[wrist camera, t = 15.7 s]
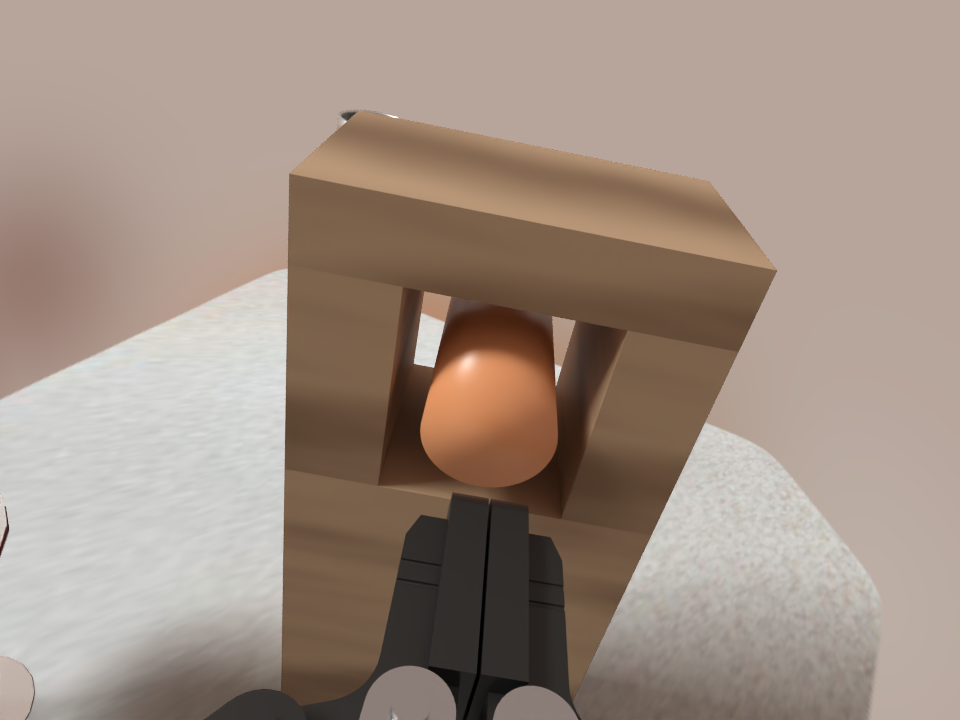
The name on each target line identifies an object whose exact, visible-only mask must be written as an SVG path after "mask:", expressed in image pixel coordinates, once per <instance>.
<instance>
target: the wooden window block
mask: <svg viewBox="0 0 960 720" xmlns="http://www.w3.org/2000/svg"><path fill="white" fill-rule="evenodd" d="M776 272H777V270H776V269H775V267H774V266H773V264H772V263H771V262H770V260H769V259H768V258H767V257H766V255H765V254H764V252H763V251H762V250H761V249H760V247H759V246H758V245H757V243H756V242H755V241H754V239H753V238H752V237H751V235H750V234H749V233H748V231H747V230H746V229H745V227H744V226H743V225H742V224H741V222H740V221H739V220H738V218H737V217H736V216H735V214H734V213H733V212H732V211H731V209H730V208H729V206H728V205H727V204H726V203H725V201H724V200H723V199H722V197H721V196H720V195H719V193H718V192H717V191H716V189H715V188H714V187H713V186H712V184H711V183H710V182H709V181H705V180H700V179H695V178H690V177H685V176H681V175H676V174H670V173H666V172H661V171H656V170H651V169H646V168H641V167H636V166H631V165H626V164H621V163H616V162H611V161H607V160H601V159H597V158H592V157H587V156H582V155H577V154H572V153H567V152H562V151H557V150H552V149H548V148H542V147H537V146H532V145H528V144H523V143H518V142H513V141H508V140H503V139H498V138H493V137H488V136H483V135H479V134H474V133H468V132H464V131H459V130H454V129H449V128H444V127H439V126H434V125H429V124H424V123H419V122H414V121H410V120H404V119H400V118H395V117H390V116H385V115H380V114H375V113H370V112H365V111H360V110H359V111H358V112H357V113H356V114H354V115H353V116H352V117H351V118H350V119H349V120H348V121H347V122H346V123H345V124H343V125H342V126H341V127H340V128H339V129H338V130H337V131H336V132H335V133H334V134H333V135H331V136H330V137H329V138H328V139H327V140H326V141H325V142H324V143H323V144H321V145H320V146H319V147H318V148H317V149H316V150H315V151H314V152H313V153H312V154H310V155H309V156H308V157H307V158H306V159H305V160H304V161H303V162H302V163H301V164H299V165H298V166H297V167H296V168H295V169H294V170H293V171H292V172H291V173H290V174H289V233H288V296H287V359H286V422H285V486H284V549H283V613H282V676H281V692H282V693H285V694H287V695H288V696H290V697H291V698H293V699H294V700H295V701H296V702H297V703H298V704H299V705H300V706H303V705H309V704H314V703H320V702H325V701H331V700H335V699H338V698H341V697H344V696H346V695H349V694H350V693H352V692H354V691H355V690H357V689H358V688H359V687H361V686H362V685H363V684H364V683H365V682H366V681H367V680H368V679H369V678H370V676H371V675H372V673H373V672H374V670H375V668H376V666H377V664H378V661H379V657H380V653H381V649H382V644H383V639H384V635H385V630H386V625H387V620H388V616H389V611H390V606H391V601H392V597H393V592H394V587H395V583H396V578H397V573H398V568H399V564H400V559H401V554H402V549H403V545H404V540H405V535H406V533H407V532H408V530H409V529H410V528H411V527H412V525H413V524H414V523H415V522H416V520H417V519H418V518H419V517H420V515H426V516H431V517H437V518H443V519H446V518H447V514H448V509H449V504H450V500H451V495H452V492H455V493H461V494H466V495H472V496H478V497H483V498H488V499H489V503H490V500H491V499H496V500H501V501H507V502H513V503H518V504H524V505H528V509H529V534H535V535H541V536H547V537H551V539H552V541H553V543H554V545H555V547H556V549H557V551H558V553H559V555H560V557H561V559H562V564H563V582H564V586H563V590H564V600H565V607H564V611H565V618H566V636H567V654H568V673H569V688H570V695H571V699H572V701H573V699H574V697H575V695H576V693H577V691H578V689H579V686H580V684H581V682H582V680H583V678H584V676H585V674H586V672H587V670H588V667H589V665H590V663H591V661H592V659H593V657H594V655H595V653H596V651H597V649H598V646H599V644H600V642H601V640H602V638H603V636H604V634H605V632H606V630H607V628H608V626H609V624H610V622H611V619H612V617H613V615H614V613H615V611H616V609H617V606H618V604H619V602H620V600H621V598H622V596H623V594H624V592H625V590H626V588H627V585H628V583H629V581H630V579H631V577H632V575H633V573H634V571H635V569H636V566H637V564H638V562H639V560H640V558H641V556H642V554H643V552H644V550H645V548H646V545H647V543H648V541H649V539H650V537H651V535H652V533H653V531H654V529H655V527H656V524H657V522H658V520H659V518H660V516H661V514H662V512H663V510H664V508H665V505H666V503H667V501H668V499H669V497H670V495H671V493H672V491H673V489H674V487H675V484H676V482H677V480H678V478H679V476H680V474H681V472H682V470H683V468H684V466H685V463H686V461H687V459H688V457H689V455H690V453H691V451H692V449H693V447H694V444H695V442H696V440H697V438H698V436H699V434H700V432H701V430H702V428H703V426H704V423H705V421H706V419H707V417H708V415H709V413H710V411H711V408H712V407H713V404H714V402H715V400H716V398H717V396H718V394H719V392H720V390H721V388H722V385H723V383H724V381H725V379H726V377H727V375H728V373H729V371H730V369H731V367H732V365H733V362H734V360H735V358H736V356H737V354H738V352H739V350H740V348H741V346H742V343H743V341H744V339H745V337H746V335H747V333H748V331H749V329H750V327H751V324H752V322H753V320H754V318H755V316H756V314H757V312H758V310H759V308H760V305H761V303H762V301H763V299H764V297H765V295H766V293H767V291H768V289H769V287H770V285H771V282H772V280H773V278H774V276H775V274H776ZM424 291H426V292H431V293H436V294H441V295H446V296H451V297H457V298H462V299H467V300H472V301H477V302H482V303H488V304H493V305H498V306H503V307H508V308H514V309H519V310H524V311H529V312H534V313H539V314H545V315H550V316H555V317H560V318H566V319H570V320H576V323H575V326H574V329H573V332H572V336H571V339H570V342H569V346H568V349H567V352H566V356H565V359H564V362H563V366H562V369H561V372H560V376H559V379H558V382H557V386H556V406H557V426H558V443H557V447H556V450H555V453H554V455H553V457H552V459H551V460H550V462H549V463H548V464H547V466H546V467H545V468H544V469H543V470H542V471H540V472H539V473H538V474H536V475H535V476H534V477H532V478H530V479H528V480H526V481H524V482H521V483H519V484H515V485H511V486H506V487H495V488H492V487H479V486H474V485H470V484H466V483H463V482H460V481H458V480H456V479H454V478H452V477H450V476H449V475H447V474H445V473H444V472H443V471H441V470H440V469H439V468H438V467H437V466H436V465H435V464H434V463H433V462H432V461H431V459H430V458H429V457H428V455H427V453H426V452H425V449H424V447H423V445H422V441H421V434H420V428H421V421H422V417H423V413H424V409H425V405H426V401H427V396H428V392H429V388H430V384H431V380H432V375H433V371H434V368H432V367H426V366H421V365H416V364H414V357H415V350H416V343H417V336H418V330H419V323H420V316H421V309H422V302H423V295H424Z"/></svg>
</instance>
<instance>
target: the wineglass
mask: <svg viewBox="0 0 960 720" xmlns="http://www.w3.org/2000/svg"><path fill="white" fill-rule="evenodd" d="M8 532H9V524H8V518H7V512H6V507H5V506H4V500H3V497H2V495H1V494H0V557H1V554H2V551H3V548H4V545H5V542H6V540H7V537H8ZM33 696H34V687H33V681H32V676H31V675H30V673H29V672H28V671H27V670H26V668H25V667H24V666H23V664H21V663H19V662H17V661H15V660H13V659H11V658H9V657H3V656H0V720H25V718H26V717H27V715H28V713H29V712H30V708H31V704H32V700H33Z"/></svg>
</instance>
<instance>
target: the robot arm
mask: <svg viewBox="0 0 960 720" xmlns="http://www.w3.org/2000/svg"><path fill="white" fill-rule="evenodd" d="M563 586H564V582H563V564H562V559H561V557H560V555H559V553H558V551H557V549H556V547H555V545H554V543H553V541H552V539H551V537H547V536H541V535H535V534H529V509H528V505H524V504H518V503H513V502H507V501H501V500H496V499H491V500H490V503H489V499H488V498H483V497H478V496H472V495H466V494H461V493H455V492H452V495H451V500H450V504H449V509H448V514H447V518H446V519H443V518H437V517H431V516H426V515H420V517H419V518H418V519H417V520H416V522H415V523H414V524H413V525H412V527H411V528H410V529H409V530H408V532H407V533H406V535H405V540H404V545H403V549H402V554H401V559H400V564H399V568H398V573H397V578H396V583H395V587H394V592H393V597H392V601H391V606H390V611H389V616H388V620H387V625H386V630H385V635H384V639H383V644H382V649H381V653H380V657H379V661H378V664H377V666H376V668H375V670H374V672H373V673H372V675H371V676H370V678H369V679H368V680H367V681H366V682H365V683H364V684H363V685H362V686H361V687H359V688H358V689H357V690H355V691H354V692H352V693H350V694H349V695H346V696H344V697H341V698H338V699H335V700H331V701H325V702H320V703H314V704H309V705H303V706H300V705H299V704H298V703H297V702H296V701H295V700H294V699H293V698H291V697H290V696H288V695H287V694H285V693H282V692H280V691H276V690H270V689H260V690H253V691H250V692H246V693H244V694H242V695H239V696H237V697H235V698H234V699H232V700H231V701H229V702H228V703H226V704H225V705H224V706H222V707H221V708H219V709H218V710H217V711H215V712H214V713H213V714H211V715H210V716H209V717H207V718H206V719H204V720H581V719H580V717H579V715H578V714H577V712H576V710H575V707H574V705H573V702H572V699H571V695H570V688H569V673H568V654H567V636H566V618H565V611H564V607H565V600H564V590H563Z"/></svg>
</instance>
